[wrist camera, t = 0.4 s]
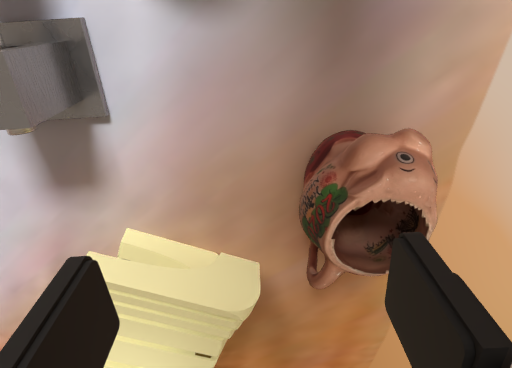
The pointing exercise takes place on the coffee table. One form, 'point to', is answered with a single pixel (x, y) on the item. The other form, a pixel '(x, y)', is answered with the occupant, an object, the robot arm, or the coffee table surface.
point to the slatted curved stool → (175, 301)
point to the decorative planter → (365, 200)
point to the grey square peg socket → (48, 73)
